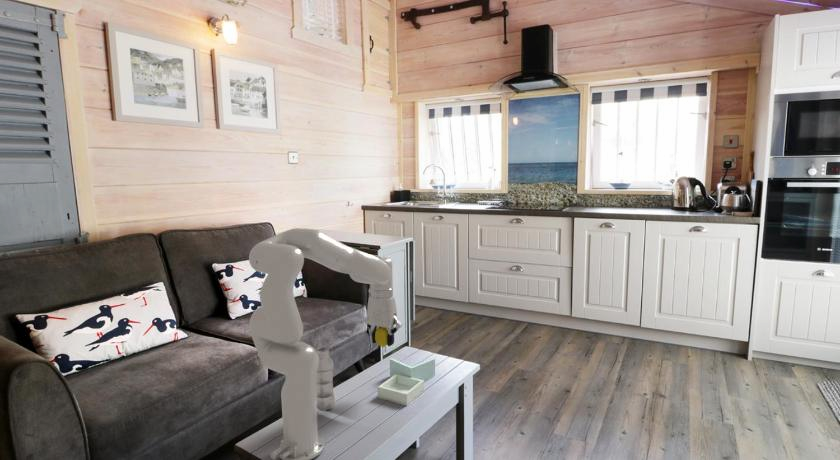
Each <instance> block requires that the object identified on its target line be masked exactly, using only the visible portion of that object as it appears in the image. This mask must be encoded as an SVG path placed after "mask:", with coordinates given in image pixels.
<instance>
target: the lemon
mask: <svg viewBox="0 0 840 460" xmlns="http://www.w3.org/2000/svg"><path fill="white" fill-rule="evenodd" d="M387 335H389V333H388V330H387V328H384V327H378V328H377V330H376V333H375V340H376V343H375V344H377V346H380V347H381V348H385V347H386V346H388V345H387Z"/></svg>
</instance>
